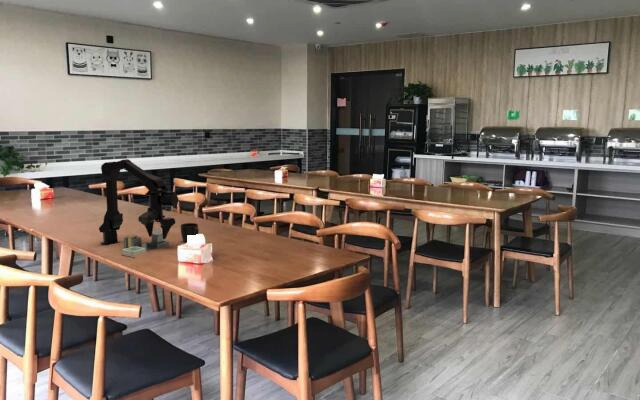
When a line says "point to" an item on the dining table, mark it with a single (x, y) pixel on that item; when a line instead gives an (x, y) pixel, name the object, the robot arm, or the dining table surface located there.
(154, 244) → the socket block
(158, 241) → the grey block
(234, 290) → the dining table surface
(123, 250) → the grey square frame
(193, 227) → the mug
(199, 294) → the dining table surface
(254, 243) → the dining table surface
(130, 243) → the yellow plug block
